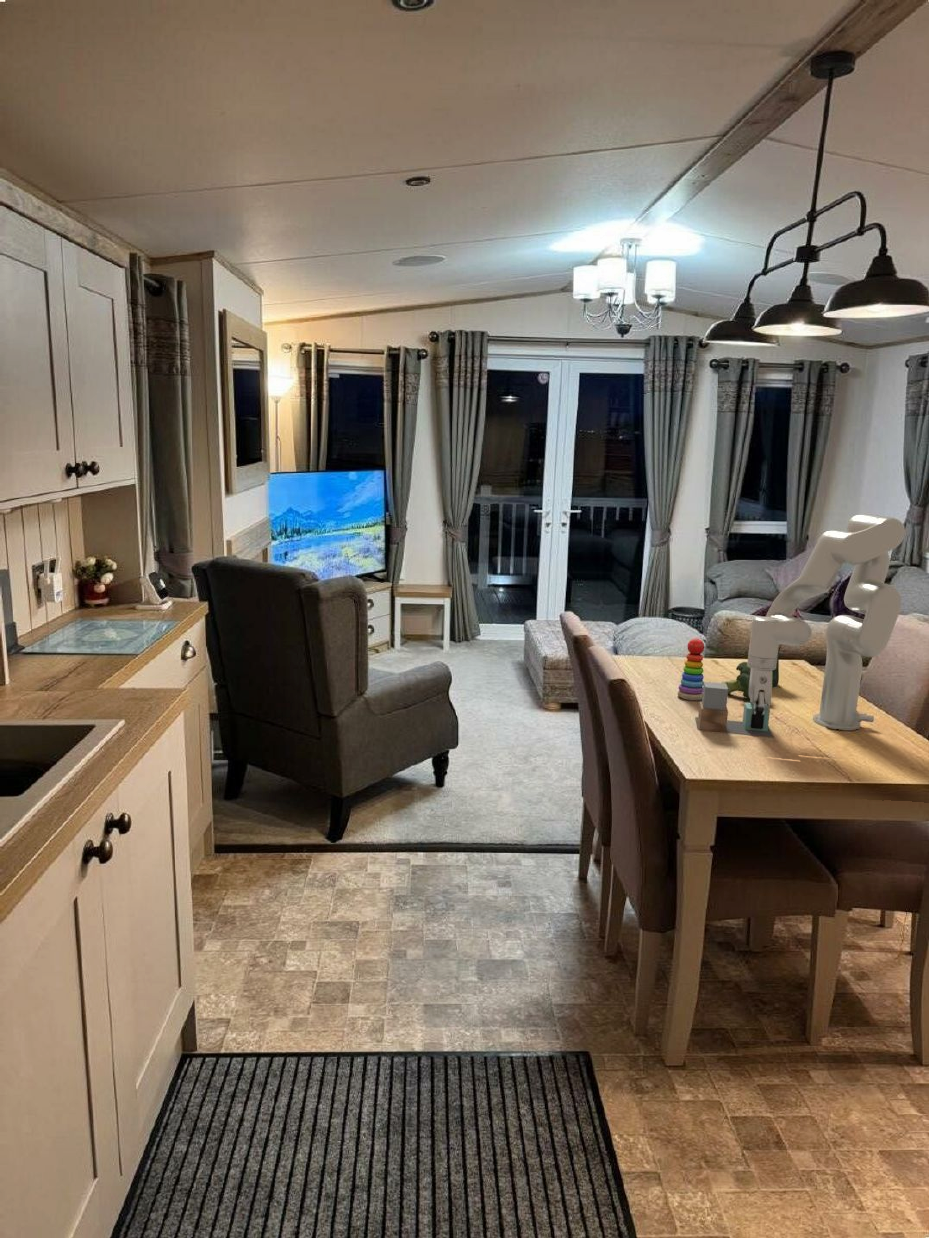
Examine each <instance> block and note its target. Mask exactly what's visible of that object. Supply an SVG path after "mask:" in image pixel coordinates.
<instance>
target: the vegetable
mask: <svg viewBox="0 0 929 1238" xmlns="http://www.w3.org/2000/svg"><path fill="white" fill-rule="evenodd" d="M747 663H748V661H741V662H740V663H739V664H738V665H737V666H736V669H735V670H736V671H738V672H739V674H738V675H737V676H736V679H734V680H726V681H721V683H725V684H726V685H727V687H728V695H731V693H732V692H742V695H743V697H744V698H745V699H746V700H749V701H750V698H749V681H750V673H751V668H750V667H748V666H747Z"/></svg>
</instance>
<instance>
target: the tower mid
mask: <svg viewBox="0 0 929 1238" xmlns="http://www.w3.org/2000/svg"><path fill="white" fill-rule="evenodd" d="M703 682H704V685H703V686H702V687H703V692H702V693H703V695H702V699H701V702H702V705H703V708H704V709H715V710H726V707H727V706H728V705H727V704H728V696H729V694H728V687H727V685H726V684H725V683H722V682H711V681H703Z"/></svg>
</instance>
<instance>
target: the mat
mask: <svg viewBox="0 0 929 1238" xmlns="http://www.w3.org/2000/svg"><path fill="white" fill-rule="evenodd" d="M694 718H695V719H694V720H695V724H696V729H697V731H700V732H702V731H703V732H708V731H707V730H699V725H698V717H696V716H695V717H694ZM742 722H743V721H740V720H739V721H737V720H728V719H727V727H726V732H719V733H721V734H732V735H740V736H741V735H743V736H752V737H762V738H771V739H772V738H774V739H775V736H774V733H772V731H771V729H770V726H769V725H768V732H767V731H757V730H747V729H745V728H744V726H743V723H742ZM709 732H711V733H718V732H717V731H709Z"/></svg>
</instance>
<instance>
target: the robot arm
mask: <svg viewBox="0 0 929 1238" xmlns="http://www.w3.org/2000/svg"><path fill="white" fill-rule="evenodd" d="M846 530H847V531H845V530H838V529H836V530H835V529H831V530H827V531H825V532H823V533H822V534H821V535H820V536H819V538H818V540H817V542H816V544H815V546H814V548H813V550H812V552H811V554H810V556H809V558H808V559H807V561H806V563H805V566H804V567H803V568H802V570H801V573H800V575H799V577H798V578H796V580H794V581H792V582H791V583H790V584H789V585H787V587H785V588H784V589H783V590H782V591H781V592H779V594H778V595H777V596H775V598H774V599H773V601H772V603H771V605H770V607H769V609H768V611H767V613H766V615H765V616H756V617H755V618H753V619H752V621H751V628H750V638H749V639H750V640H749V647H748V656H747V662H748V663H747V666H748V667H750V668H751V673H750V681H749V698H750V700H749V703H753V704H754V708H753V714H752V718H751V728H755V729H763V723H764V709H765V704H767V706H768V707H769V706H770V705H771V701H772V690H773V689H772V688H773V686H772V670H775V669H776V664H777V655H778V647H779V645H780V644H782V646H783V645H785V646H790V647H791V646H793V647H799V646H802V645H805V644H806V643H808V642H809V641H810V639H811V637H812V628H811V626H810V625H809V623H808V622H806V621H805V620H803V619H801V618H798V617H794V616H793V613H794V612H795V611H796V609H797V608H798V607H799V606H800V605H801V604H802V603H803V602H805V601H807V600H808V599H811V598H814V597H817V596H819V595H823V594H825V593H827V592H829V591H830V590H831V588H832V585H833V583H834V582H835V579H836V577H837V576H838V574H839V572H840V570H841V568H842V567H843V565H844V564H845V565H851V566H852V565H853V566H854V567H853V571H852V574H851V575H850V578H849V581H848V584H847V586H846V589H845V593H844V596H843V601H844V603H843V604H844V605H845V607H846V608H848V610H850V611H852V612H855V613H858V614H862V615H864V618H860V617H856V616H854V615H849V614H848V615H847V614H841V615H837V616H835V617H832V619H831V620H830V621H829V622H828V624H827V626H826V631H825V640H826V641H825V643H826V660H825V667H824V674H823V683H822V688H821V689H822V691H821V699H820V708H819V712H818V713H816V714H815V715H813V716H812V721H813V722H814V723H815V724H817V725H820V726H821V727H822V726H823V727H824V728H827V729H832V730H836V729H839V731H855V730H856V729H857V730H859V729H860V728H861V723H862V722H868V723H873V722H874V720H875V718H874V715H870V714H868V713H863V712H859V711H858V709H857V707H858V701H859V695H860V694H859V693H860V687H861V686H860V685H861V679H862V678H861V677H862V672H863V659H862V656H863V657H866V658H873V657H877V656H879V655H881V653H883V652H884V650H885V649H886V647H887V645H888V644H889V641H890V640H891V636H892V633H893V631H894V628H895V625H896V622H897V620H898V617H899V614H900V612H901V609H902V596H901V593H900V591H899V590H898V589H897V588H896V587H895V586H893V585H891V584H887V583H885V582H886V577H887V574H888V572H889V568H890V555H889V552H890V551H894V550H895V549H896V548H897V547H899V546H900V545H901V544H902V542H903V541H904V539H905V536H906V528H905V525H904V524H903V522H902V521H900V520H899V519H897V518H894V517H890V516H881V515H875V514H866V513H865V514H863V513H861V514H857V515H854V516H852V517H851V518H850V519H849V521H848V523H847V527H846ZM756 706H758V707H757V708H756Z"/></svg>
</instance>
